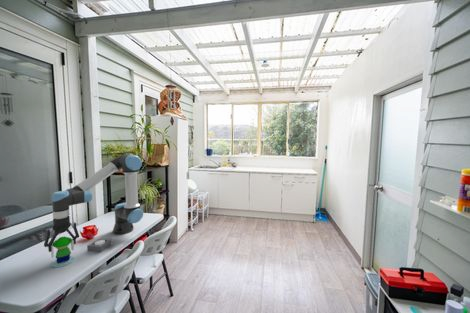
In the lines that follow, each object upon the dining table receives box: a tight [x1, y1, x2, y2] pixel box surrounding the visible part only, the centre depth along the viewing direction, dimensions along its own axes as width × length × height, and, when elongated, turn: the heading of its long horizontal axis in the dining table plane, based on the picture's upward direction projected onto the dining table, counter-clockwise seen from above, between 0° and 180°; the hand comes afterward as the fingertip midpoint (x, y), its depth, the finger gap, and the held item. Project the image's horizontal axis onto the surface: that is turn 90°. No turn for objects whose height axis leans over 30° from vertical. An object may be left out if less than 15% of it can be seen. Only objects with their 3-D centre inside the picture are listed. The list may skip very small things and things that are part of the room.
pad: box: [50, 255, 76, 269], centre depth 120 cm, size 11×11×1 cm
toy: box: [52, 236, 73, 263], centre depth 119 cm, size 9×9×15 cm
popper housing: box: [86, 238, 113, 253], centre depth 136 cm, size 10×10×4 cm
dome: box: [95, 240, 105, 245], centre depth 136 cm, size 6×6×3 cm
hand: (62, 252), depth 119 cm, fingers closed on toy, 9 cm apart
